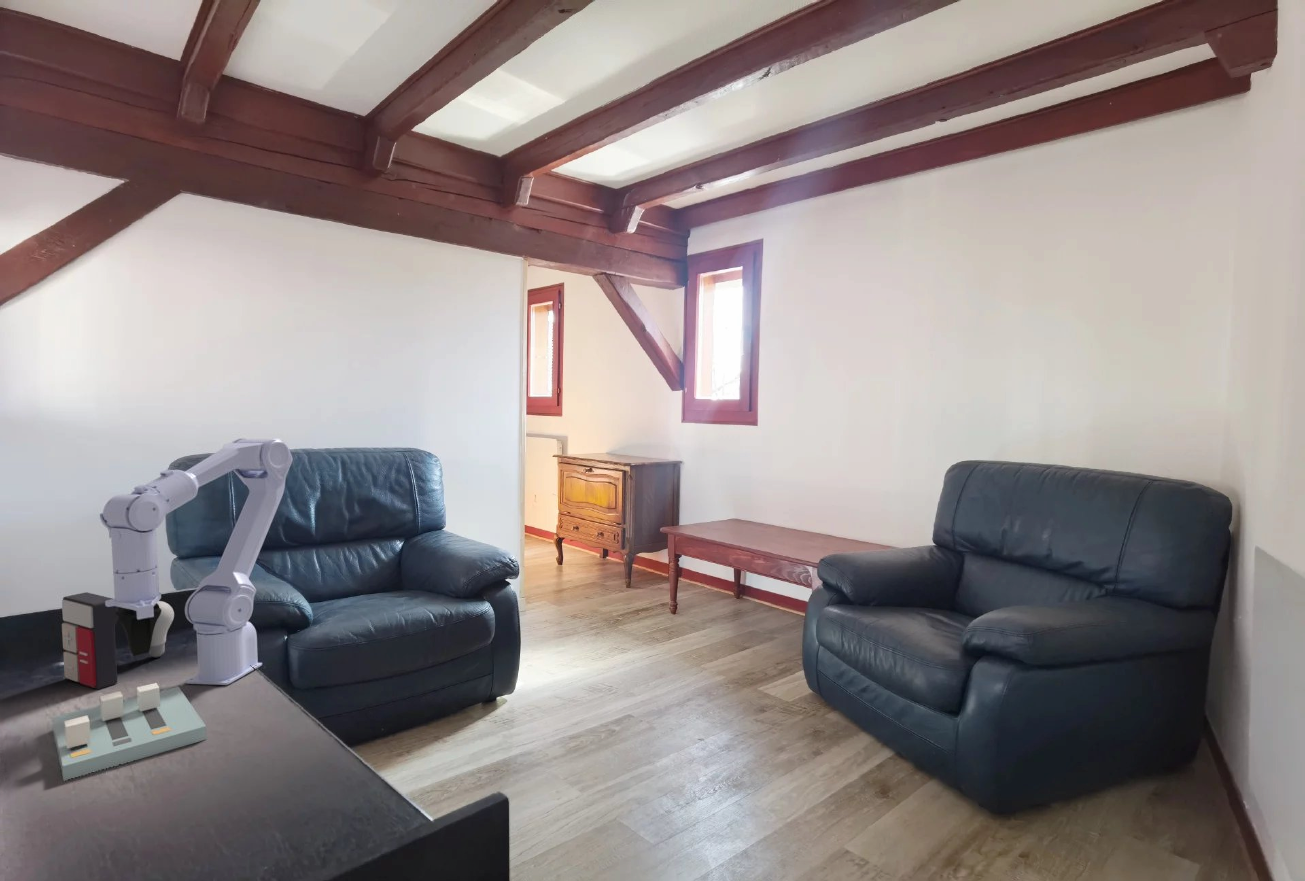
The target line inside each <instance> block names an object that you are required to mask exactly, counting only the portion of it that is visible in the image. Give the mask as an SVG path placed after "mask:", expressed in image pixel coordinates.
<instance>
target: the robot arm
mask: <svg viewBox="0 0 1305 881" xmlns="http://www.w3.org/2000/svg"><path fill="white" fill-rule="evenodd" d="M293 461H294V458H293V456H292V453H291V451H290V448H289V446H288V444H287V443H286V442H285V441H284V440H283V439H280V438H272V439H258V438H256V439H253V438H251V439H248V438H240V437H239V438H237V439H235V440H233V441H231V442H229V443H225V444H224V445H223V447H222V448H221V449H220V450H218V451H216V452H214V453H213V454H211V455H210V456H208V457H206V458H204V459H203V460H201V461H199V463H196V464H194V465H193V466H192V467H190V468H188V469H187V470H182V469H181V470H180V469H164V470H163V471H161V472H159V475H160V476H159V477H157V478H156V479H155V478H154V479H153V480H151V481H150V482H147V483H146V484H139V485H136V486H134V488H133V489H134V490H132V491H131V493H120V494H116V495H113V497H111V498H110V499H109V500H108V501H107V502H106V504H105V505H104V508H103V511H102V512H101V513H99V519H100V522H101V523H102V524H103V526H104V527H105V528H106V529H107V530H108V539H110V540H111V554H112V556H111V558H112V572H113V574H112V576H113V591H114V598H113V599H111V600H106V601H105V605H106V606H107V607H111V606H117V608H122V609H120V610H119V609H118V611H116V612H115V615H116V616H117V618H118V621H119V622H120V624H121V625H122V628H123V630H124V632H125V636H126V639H127V643H128V646H129V650H130V652H131V654H132V656H139V655H143V654H149V650H150V646H151V641H152V635H153V631H154V627H155V624H156V622H157V620H158V618H159V616H160V614H161V611H162V610H161V609H160V608H159V605H158V604H157V602H158V601H161V599H162V594H161V592H160V581H159V562H158V545H157V543H158V542H157V528H159V527H160V526H161V525H162V523H163V521H164V518H165V516H166V515H168V514H169V513H171V512H173V511H174V510H176V509H178V508H180V507H182V506H183V505H185V504H187V503H189V501H192V500H193V499H195V498H196V496H198V492H199V491H198V490H199V488H200V487H203V486H204V485H206V484H208V483H210V482H212V481H215V480H216V479H219V478H220V477H222V476H225V475H226V474H228V473H230V472H232V471H233V472H234V473H235V474H236V475H237V477H238V478H239V479H240V480H241V482H242V484H244V485H245V486H247V489H248V491H249V492H248V495H247V497H246V500H245V503H244V505H243V506H242V510H241V512H240V514H239V516H238V519H237V520H236V523H235V525H234V527H233V530H232V533H231V535H230V537H229V540H228V542H227V543H226V547H225V548H224V551H223V554H222V556H221V558H220V560H219V563H218V566H217V567H216V569H215V571H213V572H212V573H210V574H209V575H207V576H205V577H204V578H202V580H201V581H200V583H199V585H198V586H197V588H196V589H195V591H194V592H193V593H191V595H190V596H189V597H188V599H187V600H186V602H185V606H184V614H185V618H186V619H187V621H188V622H189V623H191V624H193V630H194V631H196V646H197V648H196V651H197V652H196V653H197V673H198V674H196V675H195V676H192V677H190V678H189V679H187V680H185V683H186V684H187V685H189V684H191V685H215V686H218V685H219V686H228V685H230V684H232V683H233V682H235V681H237V680H239V679H241V678H243V677H244V676H246V675H247V674H249V673H252V672H253V671H254V669H253V668H252V667H254V668H255V670H256V669H258V668H260V667H261V666H262V665H263V662H259V661H258V659H259V658H258V637H257V636H258V635H257V630H256V628H255V626H254V625H253V624H252V623H251V622H250V621H249V620H250V619H251V617H252V614H253V610H254V600H255V595H256V593H257V588H256V587H255V586H254V584H253V583H252V582H251V580H250V579H249V578H250V577H251V574H252V571H253V570H254V566H255V564H256V561H257V559H258V556H259V555H260V551H261V549H262V547H263V545H264V542H265V539H266V536H267V534H268V532H269V530H270V527H271V524H272V523H273V520H274V517H275V515H276V513H277V511H278V507H279V505H280V503H281V500H282V498H283V495H284V494H285V490H286V489H285V486H286V480H287V479H286V478H287V476H288V473H289V470H290V467H291V466H292V463H293ZM250 665H251V666H252V667H251V666H250Z"/></svg>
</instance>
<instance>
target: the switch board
mask: <svg viewBox="0 0 1305 881" xmlns="http://www.w3.org/2000/svg"><path fill="white" fill-rule="evenodd" d="M159 693H160V707H156V708H152V709H148V710H144V711H141V712H140V710H139V708H138V703H137V696H135V697H131V698H130V697H129V698H126V699H123V708H124V716H121V717H117V718H113V719H109V720H105V721H103V720H102V718H101V711H100V705H97V706H93V707H90V708H85V709H81V710H76V711H72V712H68V713H64V714H59V715H56V716H53V717H51V718H52V720H51V722H52V732H53V736H54V737H53V738H54V743H55V746H56V751H57V757H58V756H59V757H58V761H59V765H60V770H62V771H61V776H62V779H63V782H66V781H69V780H68V779H70V780H72V779H71V778H73V779H75V778H74V777H77V778H79V777H78V776H80V777H82V776H81V775H83V776H86V775H85V774H87V773H90V774H92V773H91V772H93V771H97V772H99V771H98V770H100V771H102V770H101V769H104V770H106V768H107V769H110V768H109V767H111V768H114V767H116V766H117V767H118V766H120V765H119V764H121V765H123V764H124V765H125V764H127V762H128V763H130V762H134V760H135V761H137V760H141V759H144V758H148V757H151V756H155V755H158V754H161V753H165V752H168V751H171V750H175V749H178V748H181V747H186V746H188V745H189V746H190V745H192V744H195V743H198V742H202V741H206V740H207V739H208V737H207V725H206V724H205V723H204V721H203V720H202V718H201V717H200V715H199V713H198V712H197V711H196V709H195V708H194V707H193V705H192V704H191V703H190V701H189V699H188V698H187V697H186V695H185V694H184V693H183V691H182V690H181V688H180V686H176V687H171V688H168V689H167V688H166V689H164V690H163V689H162V690H159ZM87 715H88V718H89V722H90V740H91V742H90V743H86V744H83V745H79V746H75V747H71V748H68V749H67V746H66V742H65V724H64V721H67V720H71V719H75V718H79V717H83V716H87ZM113 766H114V767H113ZM87 775H88V774H87ZM65 780H66V781H65Z"/></svg>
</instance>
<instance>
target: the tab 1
mask: <svg viewBox="0 0 1305 881" xmlns="http://www.w3.org/2000/svg"><path fill="white" fill-rule="evenodd" d="M64 724H65V742H66V746H67V749H68V748H71V747H75V746H79V745H83V744H86V743H90V742H91V740H90V722H89V718H88V715H87V716H83V717H79V718H75V719H71V720H67V721H64Z"/></svg>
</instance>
